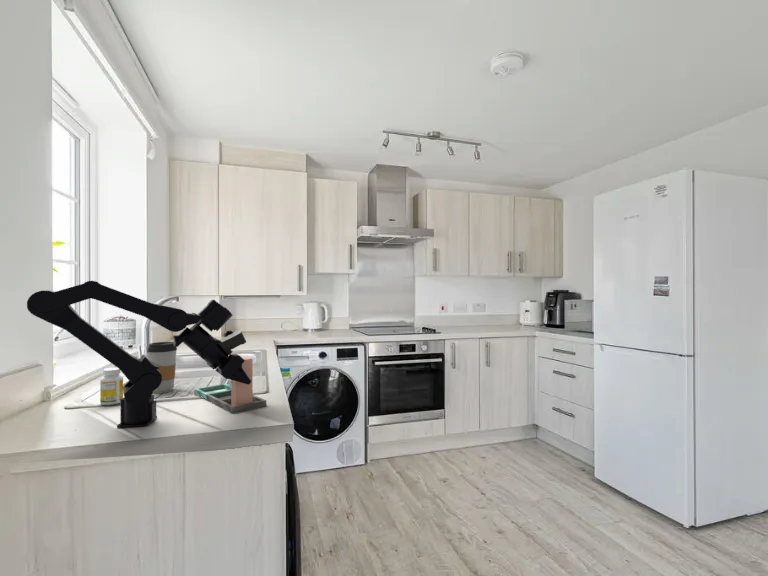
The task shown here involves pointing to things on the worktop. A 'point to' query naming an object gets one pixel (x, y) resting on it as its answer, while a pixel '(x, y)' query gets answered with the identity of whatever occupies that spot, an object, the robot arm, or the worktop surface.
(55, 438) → the worktop surface
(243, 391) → the slim block
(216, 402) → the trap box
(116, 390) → the supplement bottle
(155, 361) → the coffee cup
